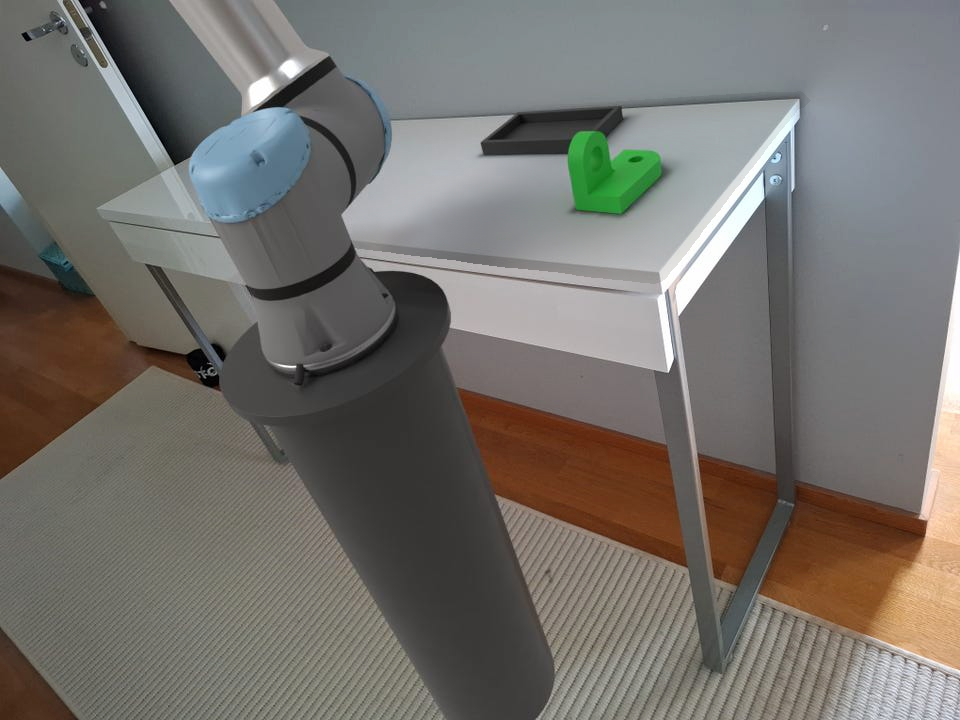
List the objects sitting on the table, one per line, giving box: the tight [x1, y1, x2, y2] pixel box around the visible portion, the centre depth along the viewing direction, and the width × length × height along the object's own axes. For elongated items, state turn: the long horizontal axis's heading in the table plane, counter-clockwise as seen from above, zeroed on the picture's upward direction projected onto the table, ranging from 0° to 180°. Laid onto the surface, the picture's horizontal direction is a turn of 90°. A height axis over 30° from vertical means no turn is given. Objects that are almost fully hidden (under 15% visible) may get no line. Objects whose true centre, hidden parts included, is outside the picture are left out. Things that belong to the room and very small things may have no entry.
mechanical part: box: [567, 131, 663, 215], centre depth 76 cm, size 12×6×8 cm, turn 142°
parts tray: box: [480, 105, 624, 156], centre depth 98 cm, size 12×18×2 cm, turn 58°
